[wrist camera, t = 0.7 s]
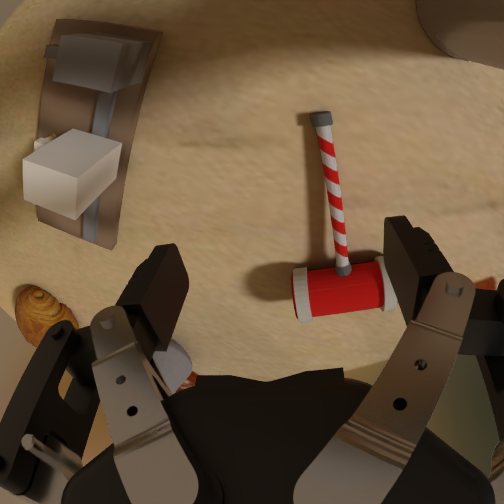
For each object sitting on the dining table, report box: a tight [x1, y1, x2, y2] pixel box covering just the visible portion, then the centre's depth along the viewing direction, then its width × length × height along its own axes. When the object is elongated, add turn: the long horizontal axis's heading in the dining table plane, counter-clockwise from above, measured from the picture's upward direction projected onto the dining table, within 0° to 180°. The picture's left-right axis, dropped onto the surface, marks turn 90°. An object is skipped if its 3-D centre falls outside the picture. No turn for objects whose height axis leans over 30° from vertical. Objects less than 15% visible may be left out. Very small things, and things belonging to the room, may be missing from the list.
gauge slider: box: [23, 129, 122, 220], centre depth 24 cm, size 4×10×9 cm, turn 69°
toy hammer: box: [291, 111, 398, 323], centre depth 31 cm, size 23×12×6 cm, turn 14°
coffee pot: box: [153, 338, 192, 395], centre depth 43 cm, size 21×12×15 cm, turn 132°
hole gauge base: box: [37, 19, 163, 251], centre depth 26 cm, size 26×12×8 cm, turn 159°
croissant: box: [15, 286, 79, 347], centre depth 48 cm, size 14×16×8 cm
